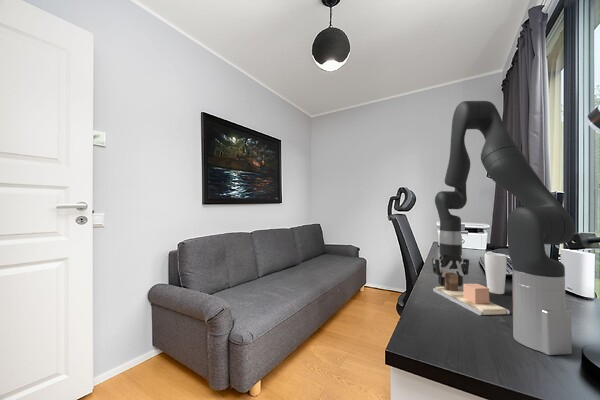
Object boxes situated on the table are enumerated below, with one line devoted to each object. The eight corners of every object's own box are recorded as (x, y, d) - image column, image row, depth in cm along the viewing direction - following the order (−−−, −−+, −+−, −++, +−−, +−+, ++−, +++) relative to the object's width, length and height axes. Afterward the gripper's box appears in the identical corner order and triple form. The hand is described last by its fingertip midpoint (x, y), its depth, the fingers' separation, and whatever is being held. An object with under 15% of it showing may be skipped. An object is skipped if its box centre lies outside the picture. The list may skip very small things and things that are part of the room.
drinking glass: (481, 290, 98) (480, 253, 99) (490, 288, 101) (490, 252, 102) (500, 296, 92) (500, 256, 93) (510, 294, 95) (510, 255, 95)
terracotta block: (489, 303, 80) (489, 288, 81) (475, 304, 80) (475, 288, 80) (476, 298, 85) (476, 283, 86) (463, 298, 85) (463, 283, 85)
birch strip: (506, 314, 76) (506, 289, 76) (482, 314, 75) (482, 290, 76) (454, 290, 98) (454, 271, 98) (435, 290, 97) (435, 271, 97)
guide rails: (509, 314, 76) (509, 310, 76) (479, 315, 75) (479, 311, 75) (457, 290, 98) (457, 287, 98) (433, 291, 97) (433, 287, 97)
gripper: (439, 243, 91) (439, 289, 90) (475, 243, 92) (475, 288, 92) (427, 241, 98) (427, 283, 98) (460, 241, 100) (460, 282, 99)
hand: (450, 285), depth 95 cm, fingers open, 6 cm apart
